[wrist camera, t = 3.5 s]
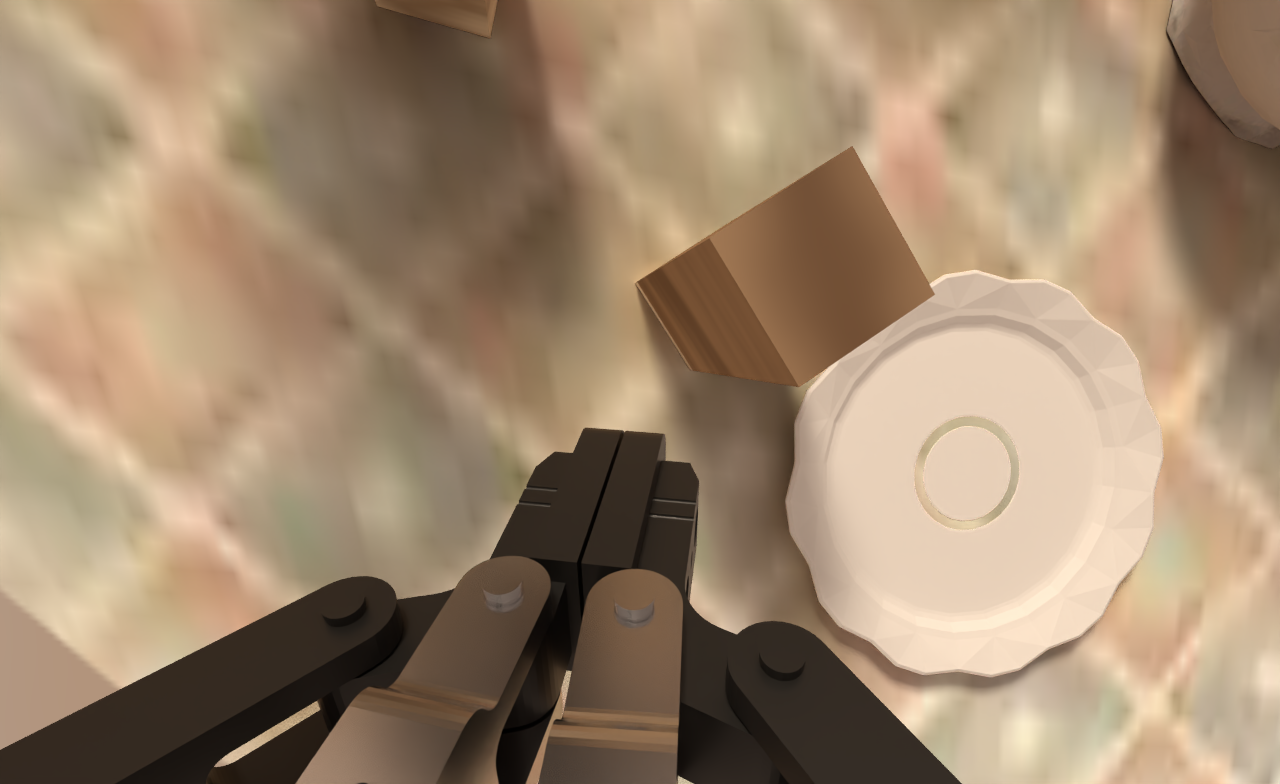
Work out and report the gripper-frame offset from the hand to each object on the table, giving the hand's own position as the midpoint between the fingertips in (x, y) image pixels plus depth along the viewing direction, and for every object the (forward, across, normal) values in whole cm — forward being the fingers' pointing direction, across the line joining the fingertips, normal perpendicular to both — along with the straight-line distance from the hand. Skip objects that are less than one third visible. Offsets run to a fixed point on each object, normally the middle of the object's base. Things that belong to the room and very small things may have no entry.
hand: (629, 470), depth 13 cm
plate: (+22, +14, -14) cm, 30 cm away
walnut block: (+21, 0, -5) cm, 22 cm away
